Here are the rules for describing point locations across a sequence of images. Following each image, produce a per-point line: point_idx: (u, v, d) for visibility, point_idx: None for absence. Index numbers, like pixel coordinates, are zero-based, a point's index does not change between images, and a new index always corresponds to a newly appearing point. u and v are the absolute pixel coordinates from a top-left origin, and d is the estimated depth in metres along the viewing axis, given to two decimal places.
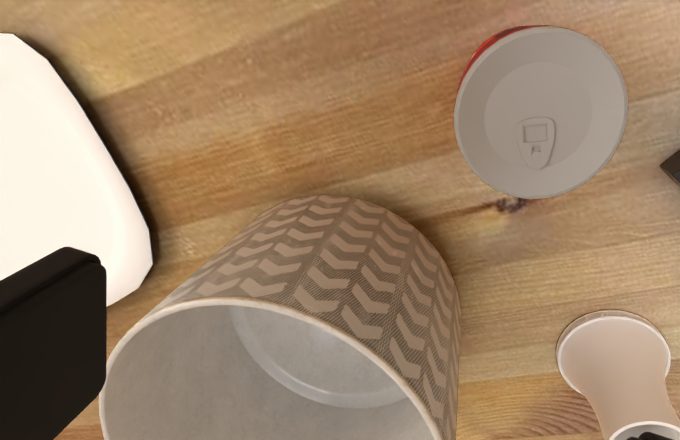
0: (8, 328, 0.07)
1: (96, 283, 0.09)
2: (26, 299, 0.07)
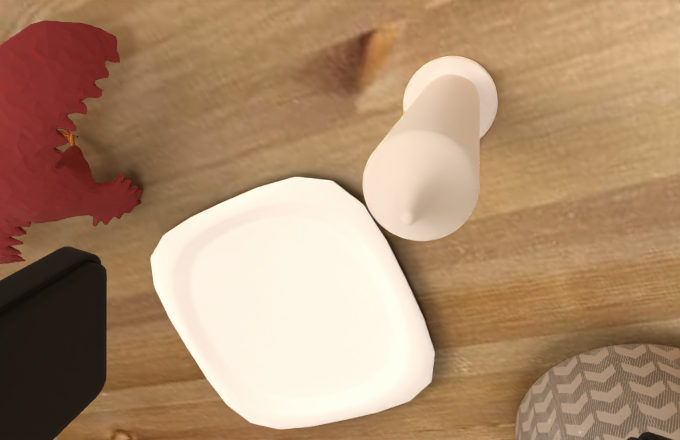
0: (8, 328, 0.07)
1: (96, 283, 0.09)
2: (26, 299, 0.07)
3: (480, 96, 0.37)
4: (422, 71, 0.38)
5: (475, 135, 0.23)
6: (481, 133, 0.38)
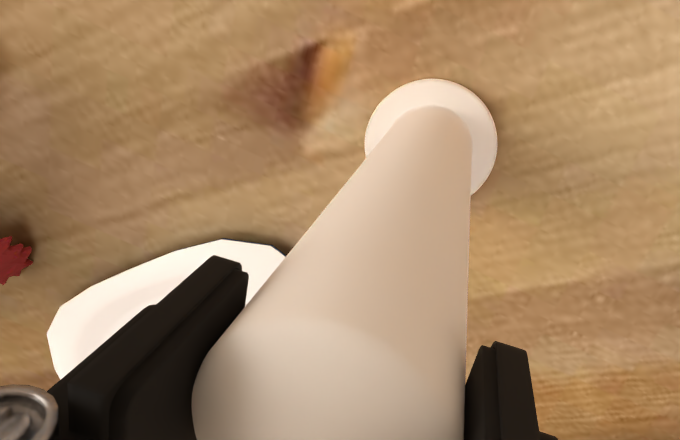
0: (195, 331, 0.08)
1: (242, 289, 0.09)
2: (200, 304, 0.08)
3: (472, 136, 0.26)
4: (390, 100, 0.26)
5: (459, 258, 0.12)
6: (474, 187, 0.27)
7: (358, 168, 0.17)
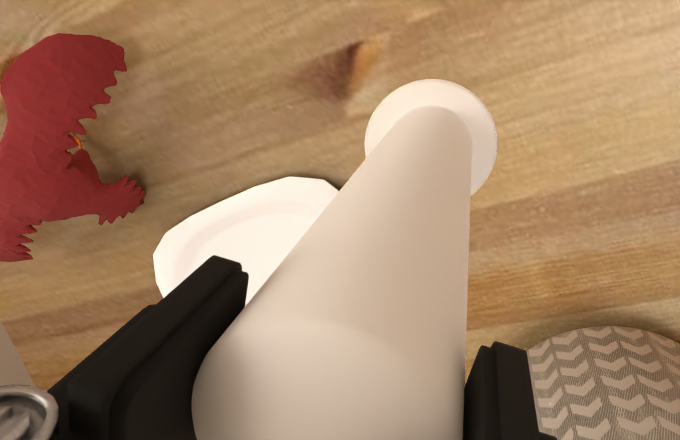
0: (195, 331, 0.08)
1: (242, 289, 0.09)
2: (200, 304, 0.08)
3: (472, 137, 0.26)
4: (390, 100, 0.26)
5: (458, 258, 0.12)
6: (474, 187, 0.27)
7: (358, 168, 0.17)
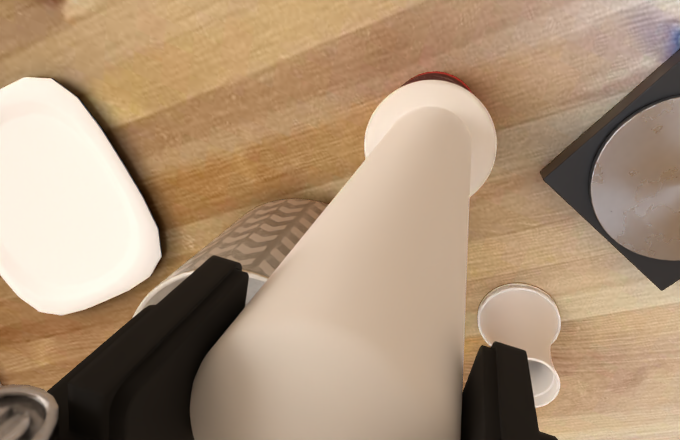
0: (195, 330, 0.08)
1: (242, 289, 0.09)
2: (200, 304, 0.08)
3: (472, 137, 0.26)
4: (389, 101, 0.26)
5: (457, 260, 0.12)
6: (474, 188, 0.27)
7: (357, 170, 0.17)
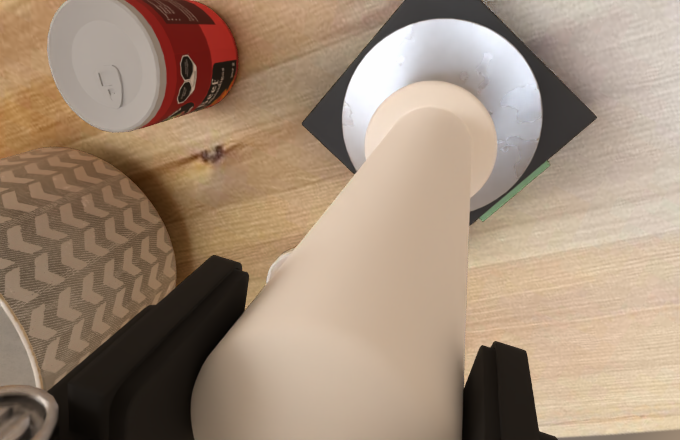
0: (194, 331, 0.08)
1: (242, 289, 0.09)
2: (200, 305, 0.08)
3: (472, 138, 0.26)
4: (390, 102, 0.26)
5: (458, 262, 0.12)
6: (474, 189, 0.27)
7: (358, 171, 0.17)
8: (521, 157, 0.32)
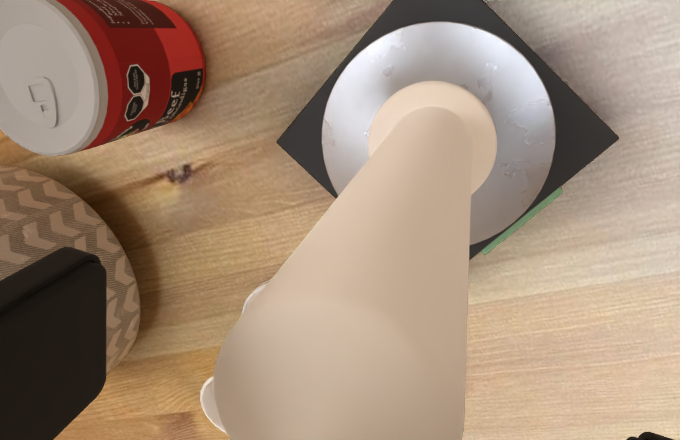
0: (8, 328, 0.07)
1: (96, 283, 0.09)
2: (26, 299, 0.07)
3: (473, 137, 0.27)
4: (392, 102, 0.27)
5: (460, 249, 0.12)
6: (474, 187, 0.28)
7: (363, 166, 0.18)
8: (530, 184, 0.28)
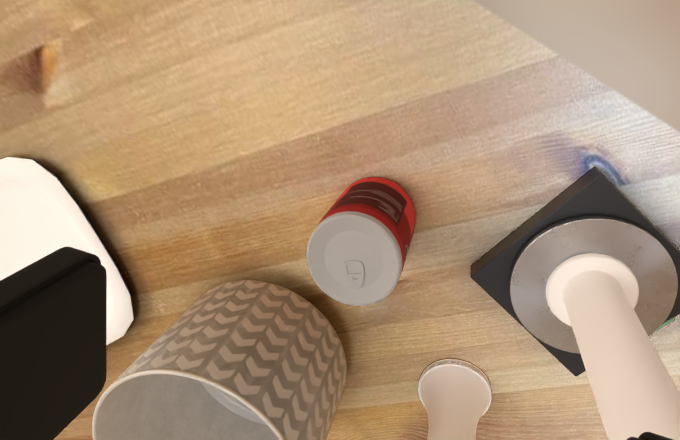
0: (8, 327, 0.07)
1: (96, 283, 0.09)
2: (26, 299, 0.07)
3: (623, 290, 0.41)
4: (569, 266, 0.41)
5: None
6: None
7: (604, 350, 0.32)
8: (657, 318, 0.42)
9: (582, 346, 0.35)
